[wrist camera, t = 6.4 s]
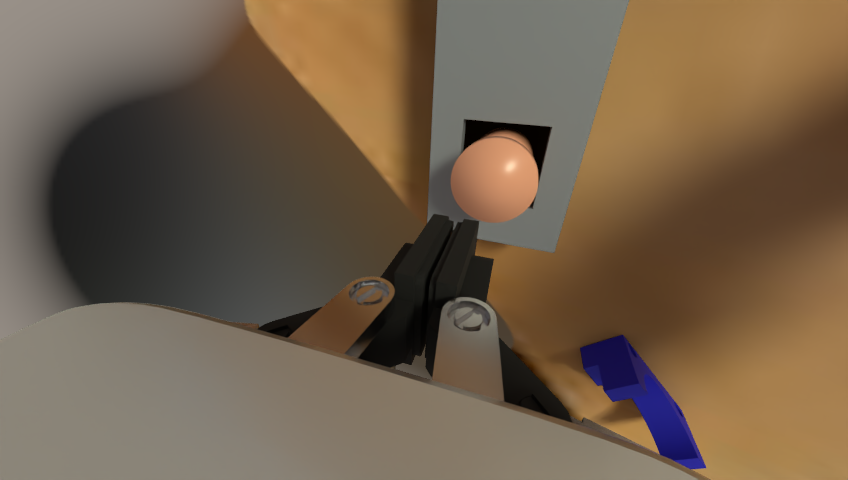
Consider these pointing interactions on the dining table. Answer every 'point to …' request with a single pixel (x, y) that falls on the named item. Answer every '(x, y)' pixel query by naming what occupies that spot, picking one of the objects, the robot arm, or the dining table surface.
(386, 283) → the robot arm
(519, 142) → the terracotta plug
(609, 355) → the blue curved block
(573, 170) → the block
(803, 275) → the dining table surface
